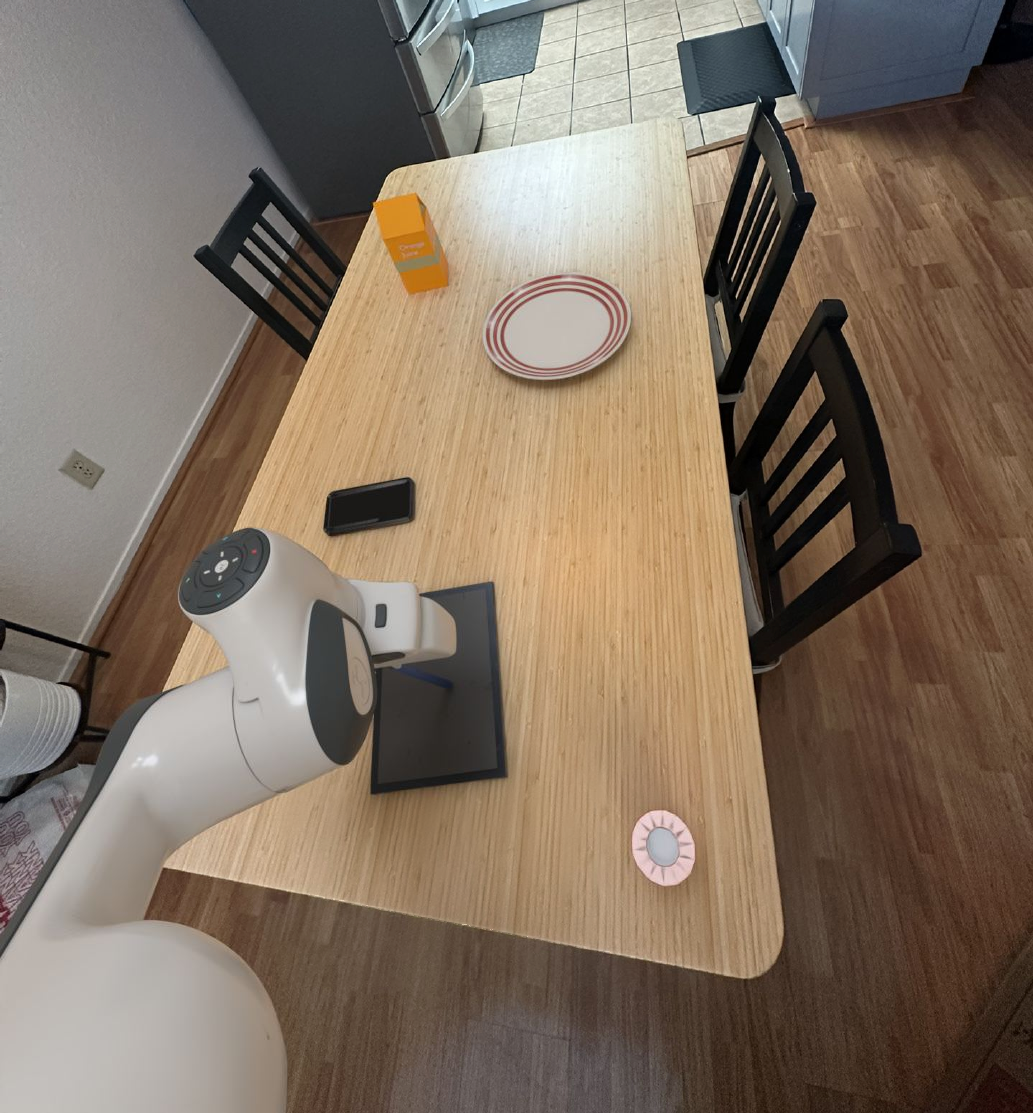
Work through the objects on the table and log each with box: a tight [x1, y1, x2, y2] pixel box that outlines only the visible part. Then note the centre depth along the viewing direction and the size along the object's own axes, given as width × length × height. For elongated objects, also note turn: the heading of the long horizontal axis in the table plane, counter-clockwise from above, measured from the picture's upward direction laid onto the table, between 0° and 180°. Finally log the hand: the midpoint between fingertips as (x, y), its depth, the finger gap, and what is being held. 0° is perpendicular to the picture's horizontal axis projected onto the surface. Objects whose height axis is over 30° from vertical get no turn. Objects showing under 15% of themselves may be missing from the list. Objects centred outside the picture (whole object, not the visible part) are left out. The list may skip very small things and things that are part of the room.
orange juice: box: [372, 191, 449, 295], centre depth 118 cm, size 8×9×20 cm
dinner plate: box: [481, 271, 632, 381], centre depth 107 cm, size 28×27×3 cm
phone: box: [322, 476, 416, 537], centre depth 94 cm, size 8×1×15 cm
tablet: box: [369, 581, 509, 796], centre depth 77 cm, size 24×17×1 cm
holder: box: [630, 808, 697, 888], centre depth 57 cm, size 6×6×13 cm
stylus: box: [391, 664, 452, 689], centre depth 69 cm, size 1×1×18 cm
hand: (383, 663), depth 65 cm, fingers closed on stylus, 1 cm apart
